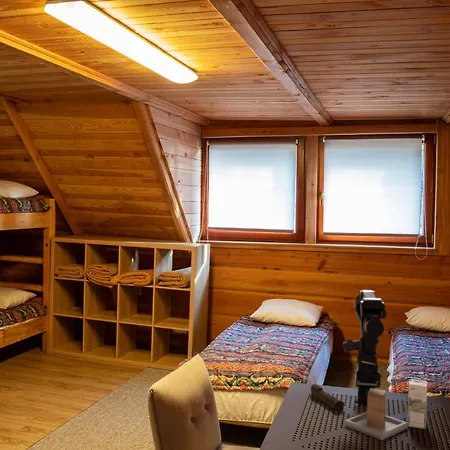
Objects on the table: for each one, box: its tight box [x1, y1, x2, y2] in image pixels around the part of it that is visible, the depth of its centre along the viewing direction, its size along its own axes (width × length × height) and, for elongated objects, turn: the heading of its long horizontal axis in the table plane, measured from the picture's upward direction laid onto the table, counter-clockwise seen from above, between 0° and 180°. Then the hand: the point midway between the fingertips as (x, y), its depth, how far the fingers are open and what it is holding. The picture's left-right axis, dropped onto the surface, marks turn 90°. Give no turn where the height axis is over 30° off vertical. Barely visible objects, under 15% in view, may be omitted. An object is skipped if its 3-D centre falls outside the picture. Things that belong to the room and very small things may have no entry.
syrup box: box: [407, 378, 428, 430], centre depth 188 cm, size 6×6×14 cm
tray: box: [344, 411, 408, 441], centre depth 186 cm, size 14×14×2 cm
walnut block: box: [366, 388, 387, 429], centre depth 185 cm, size 5×5×11 cm
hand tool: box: [310, 383, 345, 412], centre depth 208 cm, size 19×4×5 cm, turn 20°
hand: (362, 381), depth 193 cm, fingers open, 9 cm apart
